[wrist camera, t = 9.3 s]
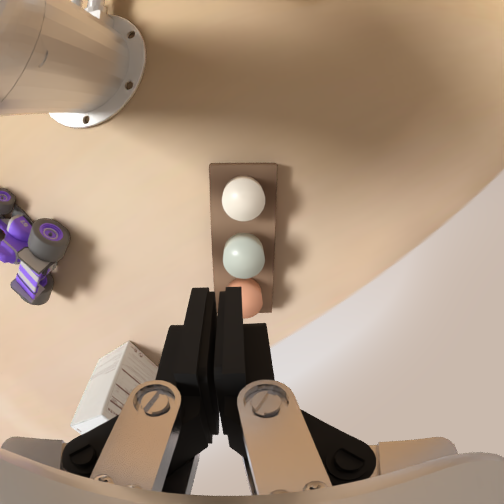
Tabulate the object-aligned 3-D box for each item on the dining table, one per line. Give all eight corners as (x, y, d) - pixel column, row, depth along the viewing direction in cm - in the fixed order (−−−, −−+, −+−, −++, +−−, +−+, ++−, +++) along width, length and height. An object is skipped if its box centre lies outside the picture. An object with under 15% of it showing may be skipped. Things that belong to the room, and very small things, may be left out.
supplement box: (134, 388, 39) (114, 457, 27) (98, 357, 36) (67, 425, 25) (168, 373, 37) (152, 450, 26) (130, 338, 35) (99, 415, 23)
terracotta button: (225, 277, 30) (224, 287, 28) (261, 276, 30) (263, 286, 28) (226, 307, 31) (226, 318, 29) (260, 307, 31) (262, 318, 29)
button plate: (210, 163, 27) (209, 165, 25) (275, 163, 27) (277, 165, 26) (216, 305, 33) (215, 313, 32) (270, 304, 33) (271, 312, 32)
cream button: (222, 176, 26) (221, 179, 24) (263, 175, 26) (265, 179, 24) (223, 214, 27) (222, 221, 25) (262, 214, 27) (264, 221, 25)
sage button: (223, 232, 27) (222, 241, 25) (263, 232, 27) (265, 240, 25) (224, 268, 28) (223, 278, 26) (262, 268, 28) (264, 278, 27)
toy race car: (-3, 171, 25) (-37, 183, 19) (77, 234, 29) (48, 259, 23) (-17, 230, 28) (-46, 249, 22) (56, 292, 32) (31, 320, 26)
